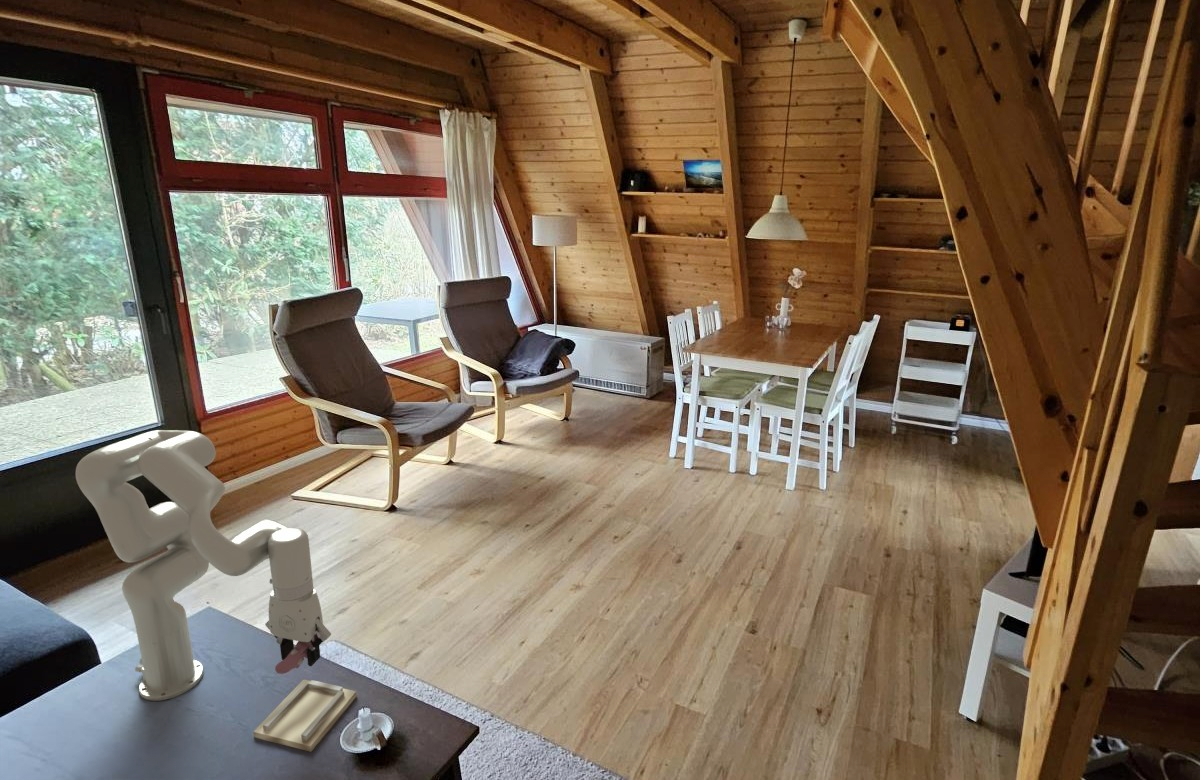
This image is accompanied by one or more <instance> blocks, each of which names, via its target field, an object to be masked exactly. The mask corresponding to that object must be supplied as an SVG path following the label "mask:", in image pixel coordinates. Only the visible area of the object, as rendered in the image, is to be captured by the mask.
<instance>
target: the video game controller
mask: <svg viewBox="0 0 1200 780" xmlns="http://www.w3.org/2000/svg"><path fill="white" fill-rule="evenodd" d="M319 635H320V634H319ZM312 641H313V642H314V641H315V640H314V638H313V639H312ZM308 649H309V648H308V646H307V644H306V642H300V641H296V644H295V645H294V648H293V650H292V651H291V652H290V653H289V654H288V656H287V657H286V658H285V659H284V660H280V661H279V662H278V663H277V664H276V665H275V666H274V670H275V672H276V673H277V674H279V675H284V674H287V673H289V672H291V671H292V670H294V669H298V668H300V666H301V665H303V663H304V661H305V659H307V650H308Z"/></svg>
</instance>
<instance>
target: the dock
mask: <svg viewBox="0 0 1200 780" xmlns="http://www.w3.org/2000/svg"><path fill="white" fill-rule="evenodd" d="M356 698H357V690H352V689H347V688H343V686H341V685H340V686H339V685H335V684H331V683H326V682H322V681H319V680H318V681H317V680H313V679H311V680H308V679H302V680H301V681H300V682H299V683H298V684H297V686H296V687H295V688H293V690H291V691H290V693H289V694H288V695H287V696H286V697H285V698H284V699H283V700H282V701H281V702H280V703H279V704H278V705H277V706H276V708H274V710H273V711H271V712H270V714H269V715H268V716H267V717H266V718H265V719H264V720H263V721H262V722H261V723H260V724H259V725H258V726H257V727H256V728H255V729H254V730H253V731H252V732H253V733H252V734H253V738H255V739H258V740H263V741H267V742H272V743H275V744H278V745H283V746H287V747H291V748H295V749H298V750H303V751H307V752H311V753H312V751H313V750H314V749H315V748H316V747H317V745H318V744H319V743H320V742H321V741H322V739H324V737H325V735H326V734H327V733H328V732H329V731H330V730H331V729H332V727H333V726H334V725H335V724H336V722H337V721H338V720H339V719H340V718H341V716H342V715H343V714H344V712H345V711H346V710H347V709H348V708H349V706H350V705H352V703H353V702H354V700H355V699H356Z"/></svg>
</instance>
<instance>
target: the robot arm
mask: <svg viewBox="0 0 1200 780" xmlns="http://www.w3.org/2000/svg"><path fill="white" fill-rule="evenodd" d="M216 455H217V453H216V447H215V445H214V443H213V442H212V440H211V439H210V438H209V437H207V436H206V435H204V434H202V433H200V432H199V431H198V432H197V431H194V430H177V429H175V430H173V429H172V430H168V429H167V430H166V429H165V430H164V429H156V430H150V431H147V432H143V433H140V434H137V435H135V436H132V437H130V438H127V439H124V440H120V441H116V442H114V443H111V444H108V445H105V446H102V447H100V448H98V449H96V450H94V451H92V452H90V453H87V455H85V456H83V457H82V458H81V459H80V460H79V462H78V463H77V465H76V467H75V480H76V484H77V485H78V487H79V489H80V491H81V492H82V494H83V495H84V496H85V497H86V498H87V500H88V501H89V502H90V503H91V505H92V506H93V507H94V509H95V511H96V513H97V515H98V518H99V519H100V522H101V524H102V526H103V529H104V532H105V533H106V535H107V537H108V541H109V542H110V545H111V547H112V548H113V551H114V553H115V554H116V556H117V557H118V558H119V559H120V560H122V561H123V562H125V563H136V562H139V561H142V560H144V559H146V558H148V557H150V556H151V555H153V554H155V553H158V552H159V551H161V550H162V549H165V548H167V549H168V550H167V551H165V552H162V553H161V554H160V555H158V556H155V557H154V558H152V559H149V560H148V561H146V562H145V563H143V564H142V565H139V566H138V567H137V568H135V569H134V570H133V571H131V572H130V573H129V574H128V575H127V576H126V577H125V579H124V580H123V582H122V585H121V589H122V590H121V591H122V594H123V597H124V599H125V602H126V603H127V605H128V607H129V610H130V612H131V615H132V617H133V618H132V619H133V621H134V622H133V623H134V627H135V630H136V636H137V640H138V641H137V642H138V645H139V646H138V647H139V651H140V656H141V657H140V659H139V664H138V665H136V666H135V669H134V671H135V672H137V673H142V679H141V681H140V683H139V686H138V691H139V695H140V696H141V697H142V698H143V699H145V700H147V701H155V702H156V701H166V700H169V699H173V698H176V697H178V696H181V695H182V694H185V693H186V692H188V691H190V690H191V689H192V688H193V687H195V686H196V685H198V683H199V682H200V681H201V679H202V678H203V675H204V667H203V664H202V663H201V662H200V661H198V660H195V659H194V654H193V647H192V641H191V635H190V630H189V623H188V617H187V613H186V609H185V608H184V606H183V605H182V604H181V603H179V602H177V601H175V600H174V597H175V596H176V595H177V594H178V593H180V592H182V591H183V590H184V589H185V588H187V587H189V586H190V585H192V584H193V583H195V582H197V581H199V579H201V578H203V576H205V574H206V573H207V572H208V570H209V565H212V566H213V568H215V569H216V570H218V571H219V572H221V573H223V574H224V575H226V576H231V577H239V576H243V575H245V574H247V573H248V572H250V571H251V570H253V569H254V568H256V567H257V566H259V565H260V564H261V563H263V562H264V561H266V560H269V567H270V568H269V569H270V576H271V577H270V578H269V584H272V585H271V586H272V591H271V592H270V596H269V602H268V620H267V621H266V622H265V627H266V628H267V629H268V630H269V632H270V634H272V636H274V637H275V638H276V643H277V644H278V645H279V649H280V656H281V658H280V659H281V661H283V660H284V659H285V658H286V657H287V656H288V654H289V653H290V652H291V651H292V650H293V648H294V647H295V645H294V641H296V642H298V641H300V642H306V644H307V646H308V648H309V649H308V650H307V658H306V659H307V665H308V667H312V666H313V665H314V664H316V663H317V661H318V660H320V658H321V649H320V646H321V644H323V643H324V642H325V641H327V639H329V638H330V637H331V636H332V633H331V632H330V630H329V629H328V628H327V627H326V626H325V625H324V623H323V622H324V620H323V612H322V608H321V603H320V599H319V596H318V593H317V591H316V589H314V580H313V571H312V560H311V552H310V549H311V548H310V540H309V534H308V533H307V531H305V530H304V529H302V528H298V527H288V526H286V525H285V524H283V523H280V522H278V521H277V520H274V519H271V518H270V519H269V518H268V519H266V518H265V519H262V520H260V521H257V522H256V523H254V524H252V525H251V526H249V527H247V528H245V529H244V530H242V531H240V532H239V533H237V534H235V535H234V536H232V537H230V538H227V537H226V536H225V535H223V534H222V533H221V532H220V531H219V530H218V529H217V528H216V527H215V525H214V524H213V521H212V518H211V511H212V510H213V509H214V508H215V507H216V505H218V503H219V502H220V500H221V499H222V497H223V495H224V494H225V490H226V488H225V484H224V482H222V481H221V480H220V479H218V477H216V475H214V474H213V473H212V472H210V470H208V469H207V468H206V467H207V466H209V465H210V464H212V463H213V461H214V459H215V458H216ZM142 476H144V478H146V479H147V480H148V481H149V482H150V483H151V484H152V485H154V486H155V488H157V489H158V490H160V491H161V492H162V493H163V494H164V495H165V496H167V498H169V499H170V500H171V501H165V502H160V503H158V504H156V505H153V506H152V507H150V508H149V505H148V504H147V501H146V498H145V496H144V494H143V493H142V492H141V491H140V490H139V489H138V488H136V487H135V486H134V485H133V484H130V483H128V482H129V481H131V480H135V479H136V478H139V477H142ZM319 634H320V635H319ZM313 638H314V640H315V641H314V642H313V641H312V639H313Z"/></svg>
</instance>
